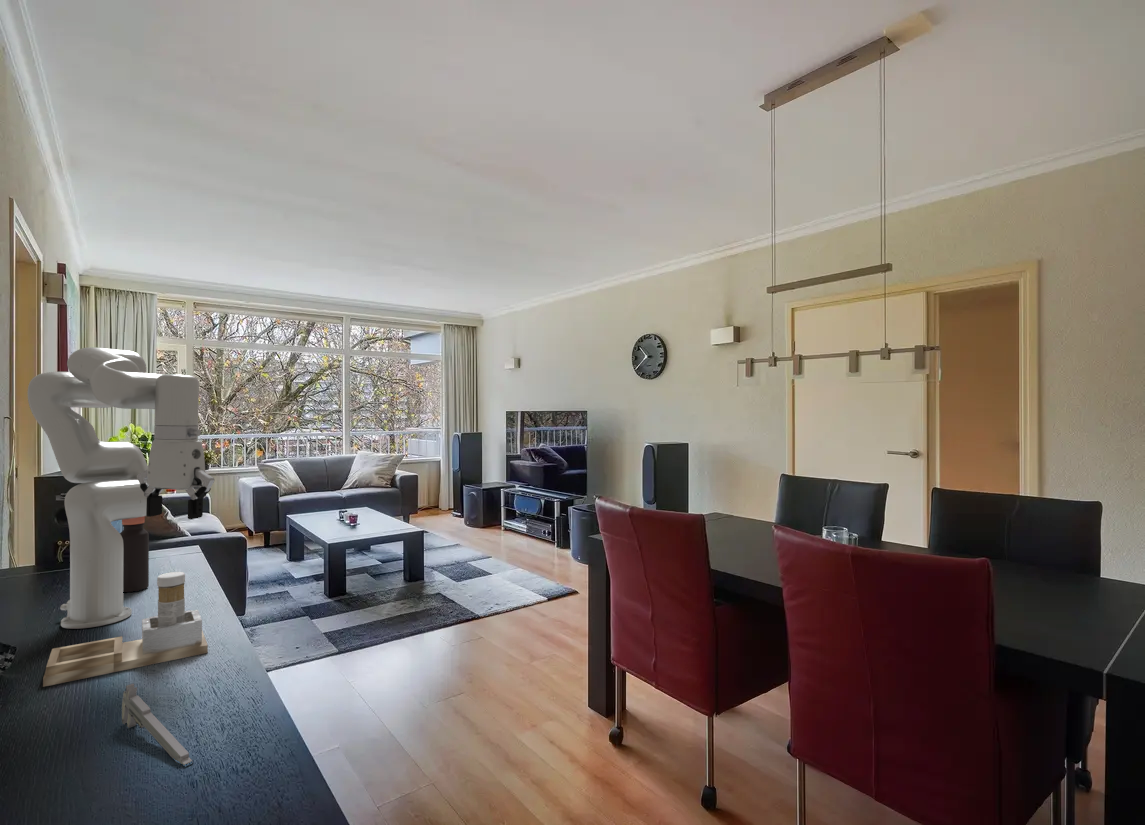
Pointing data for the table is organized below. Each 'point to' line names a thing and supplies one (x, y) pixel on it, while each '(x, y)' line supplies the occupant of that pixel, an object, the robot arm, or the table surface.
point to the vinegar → (135, 555)
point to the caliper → (150, 724)
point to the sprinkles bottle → (171, 598)
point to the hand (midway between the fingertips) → (174, 516)
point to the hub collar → (171, 633)
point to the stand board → (107, 658)
